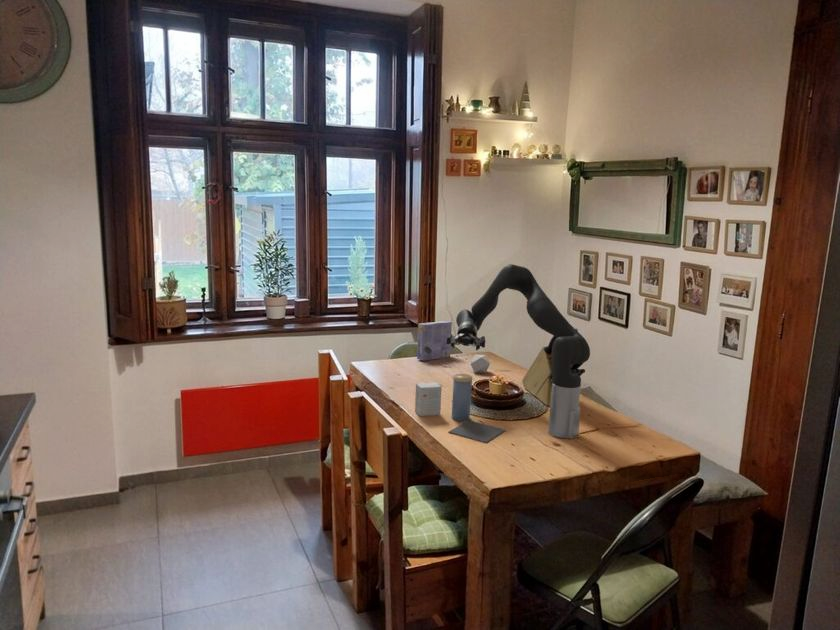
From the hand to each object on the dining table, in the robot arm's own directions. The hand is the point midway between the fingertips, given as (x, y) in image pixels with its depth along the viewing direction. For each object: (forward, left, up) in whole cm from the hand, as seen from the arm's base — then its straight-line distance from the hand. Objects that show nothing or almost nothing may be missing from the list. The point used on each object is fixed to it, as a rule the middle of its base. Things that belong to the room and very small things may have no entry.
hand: (465, 346), depth 227 cm
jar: (-4, +8, -24) cm, 26 cm away
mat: (-15, +16, -24) cm, 33 cm away
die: (+20, -51, -24) cm, 59 cm away
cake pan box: (+49, -58, -24) cm, 79 cm away
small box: (+8, +11, -24) cm, 28 cm away
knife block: (-21, -34, -24) cm, 46 cm away
